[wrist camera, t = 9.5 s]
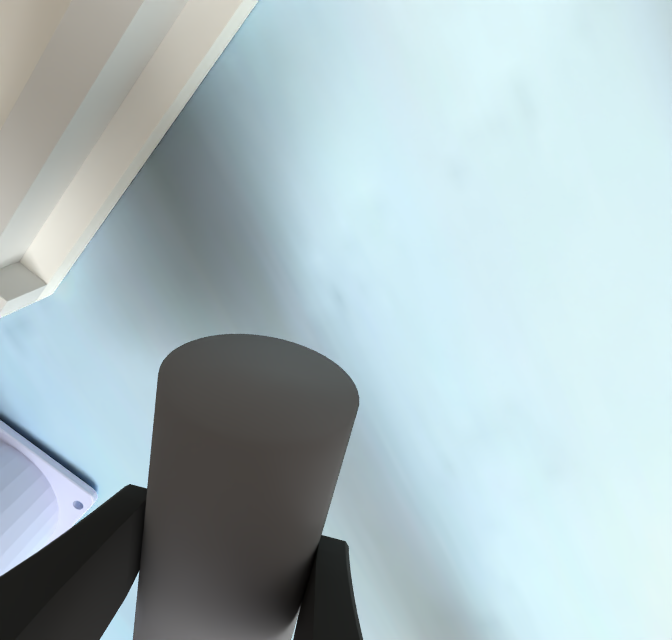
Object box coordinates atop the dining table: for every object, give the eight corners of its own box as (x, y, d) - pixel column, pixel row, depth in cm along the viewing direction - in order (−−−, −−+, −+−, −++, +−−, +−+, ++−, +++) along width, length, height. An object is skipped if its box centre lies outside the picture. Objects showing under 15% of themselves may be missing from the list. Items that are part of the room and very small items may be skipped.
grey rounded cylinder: (299, 620, 15) (246, 778, 11) (182, 572, 15) (93, 707, 11) (373, 368, 11) (332, 474, 7) (219, 318, 12) (110, 394, 8)
